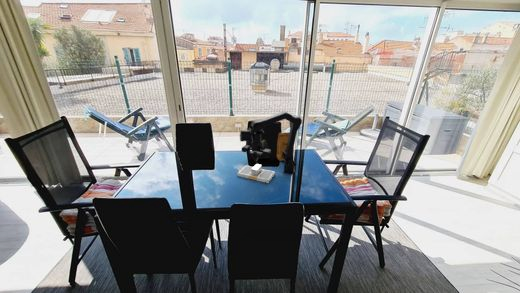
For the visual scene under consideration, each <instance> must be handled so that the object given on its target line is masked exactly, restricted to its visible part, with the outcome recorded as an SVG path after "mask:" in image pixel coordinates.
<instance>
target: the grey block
mask: <svg viewBox="0 0 520 293" xmlns="http://www.w3.org/2000/svg"><path fill="white" fill-rule="evenodd" d="M252 167H253V168H252V169H251V175H252V176H257V177H258V176H259V174H260V173H261V172H262V169H263V168H262V167H263V166H262V164H259V163H256V164H254V166H252Z"/></svg>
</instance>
